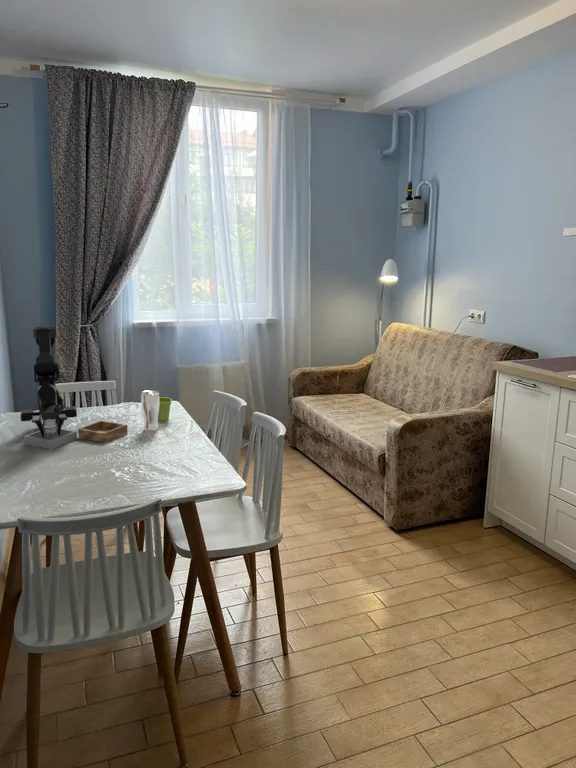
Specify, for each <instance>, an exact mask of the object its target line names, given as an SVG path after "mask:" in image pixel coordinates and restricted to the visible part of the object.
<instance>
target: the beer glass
mask: <svg viewBox="0 0 576 768" xmlns="http://www.w3.org/2000/svg"><path fill="white" fill-rule="evenodd" d="M159 397H160V391H158V390H144V391H141V398H140V399H141V400H140V401H141V404H140V405H141V410H142V415H143V421H144V423H143V424H144V425H143V431H145V432H156V431H159V430H160V425H159V422H158V415H159V407H160V400H159Z"/></svg>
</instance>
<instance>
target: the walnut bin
mask: <svg viewBox="0 0 576 768" xmlns="http://www.w3.org/2000/svg"><path fill="white" fill-rule="evenodd" d="M77 431H78V432H77V437H78V439H82V440H87V441H94V442H100V443H104V444H105V443H106V444H107V443H108V442H110V441H113V440H115V439H117V438H120V437H123V436H125V435H127V434H128V424H125V423H119V422H113V421H109V420H102V419H101V420H99V421H96V422H93V423H91V424H88V425H85V426H83V427H80V428H78V429H77Z"/></svg>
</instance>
